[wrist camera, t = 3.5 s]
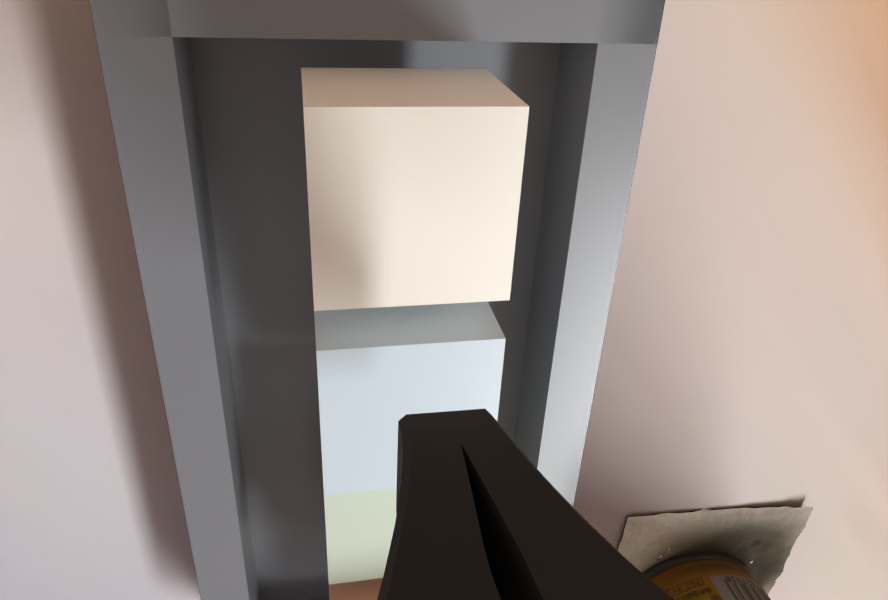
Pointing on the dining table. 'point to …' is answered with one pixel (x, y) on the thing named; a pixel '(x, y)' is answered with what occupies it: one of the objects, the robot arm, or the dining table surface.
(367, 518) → the sage key
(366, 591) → the salmon orange cube
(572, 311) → the keypad base
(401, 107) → the cream cube
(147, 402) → the dining table surface
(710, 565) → the condiment
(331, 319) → the pale blue cube
